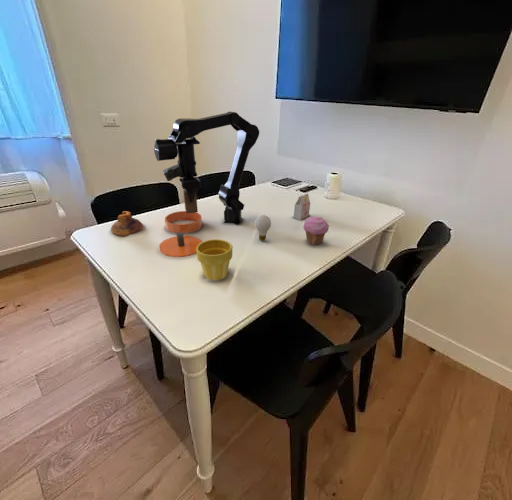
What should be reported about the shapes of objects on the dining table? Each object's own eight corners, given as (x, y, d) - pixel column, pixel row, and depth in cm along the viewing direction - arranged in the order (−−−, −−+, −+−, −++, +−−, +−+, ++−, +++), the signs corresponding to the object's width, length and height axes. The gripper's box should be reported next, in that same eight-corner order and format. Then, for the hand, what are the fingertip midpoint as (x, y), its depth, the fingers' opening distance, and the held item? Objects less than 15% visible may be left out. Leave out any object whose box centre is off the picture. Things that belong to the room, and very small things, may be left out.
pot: (206, 221, 127) (206, 212, 125) (194, 236, 115) (193, 226, 113) (175, 218, 129) (174, 209, 127) (159, 232, 117) (158, 222, 115)
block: (196, 208, 118) (194, 188, 114) (197, 212, 115) (196, 191, 111) (185, 209, 117) (183, 189, 113) (186, 213, 113) (184, 192, 110)
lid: (208, 240, 112) (207, 226, 109) (193, 260, 99) (192, 245, 96) (170, 236, 114) (168, 222, 111) (151, 255, 101) (148, 240, 99)
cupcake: (311, 249, 107) (314, 224, 102) (297, 239, 114) (299, 215, 109) (330, 244, 111) (334, 219, 106) (316, 235, 118) (319, 211, 113)
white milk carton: (293, 217, 133) (295, 196, 128) (301, 213, 137) (304, 192, 133) (300, 220, 131) (302, 198, 126) (308, 215, 135) (311, 194, 131)
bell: (130, 238, 112) (126, 220, 108) (104, 233, 115) (100, 215, 112) (150, 226, 121) (147, 209, 118) (126, 222, 125) (122, 205, 121)
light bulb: (272, 238, 114) (273, 214, 110) (267, 245, 110) (268, 219, 105) (257, 236, 116) (258, 211, 111) (252, 242, 111) (252, 217, 106)
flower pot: (199, 266, 96) (197, 238, 91) (232, 265, 97) (232, 238, 92) (197, 285, 87) (194, 255, 82) (233, 284, 88) (232, 255, 83)
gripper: (161, 153, 112) (166, 194, 119) (164, 165, 96) (170, 211, 104) (191, 152, 115) (195, 191, 122) (199, 163, 99) (202, 208, 107)
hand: (190, 200), depth 114 cm, fingers closed on block, 4 cm apart
